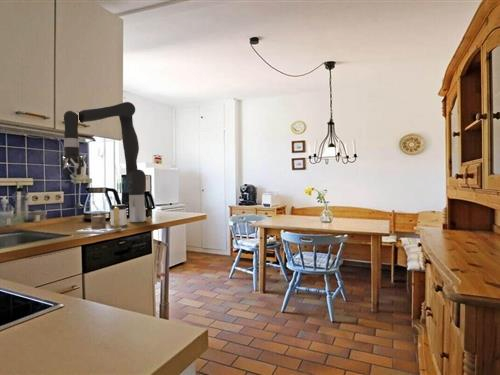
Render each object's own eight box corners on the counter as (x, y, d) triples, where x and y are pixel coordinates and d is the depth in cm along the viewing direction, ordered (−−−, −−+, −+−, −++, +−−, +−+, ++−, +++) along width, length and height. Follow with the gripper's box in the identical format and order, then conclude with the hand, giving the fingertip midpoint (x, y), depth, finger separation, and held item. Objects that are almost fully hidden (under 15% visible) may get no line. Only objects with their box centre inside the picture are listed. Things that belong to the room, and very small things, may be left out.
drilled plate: (88, 230, 172) (88, 228, 172) (114, 231, 167) (114, 229, 167) (76, 232, 164) (76, 230, 164) (103, 233, 159) (103, 231, 159)
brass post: (116, 228, 175) (115, 206, 175) (123, 228, 174) (122, 206, 173) (110, 230, 171) (110, 207, 170) (117, 230, 169) (116, 207, 169)
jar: (112, 226, 184) (111, 205, 183) (109, 224, 191) (108, 204, 190) (128, 225, 189) (127, 204, 188) (125, 223, 196) (124, 204, 195)
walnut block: (98, 228, 179) (97, 215, 179) (105, 228, 177) (105, 215, 177) (91, 229, 174) (91, 216, 174) (99, 229, 173) (98, 217, 172)
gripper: (86, 146, 183) (87, 174, 184) (67, 147, 187) (68, 175, 188) (76, 145, 176) (77, 174, 177) (56, 146, 180) (57, 175, 181)
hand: (72, 175), depth 182 cm, fingers open, 8 cm apart
